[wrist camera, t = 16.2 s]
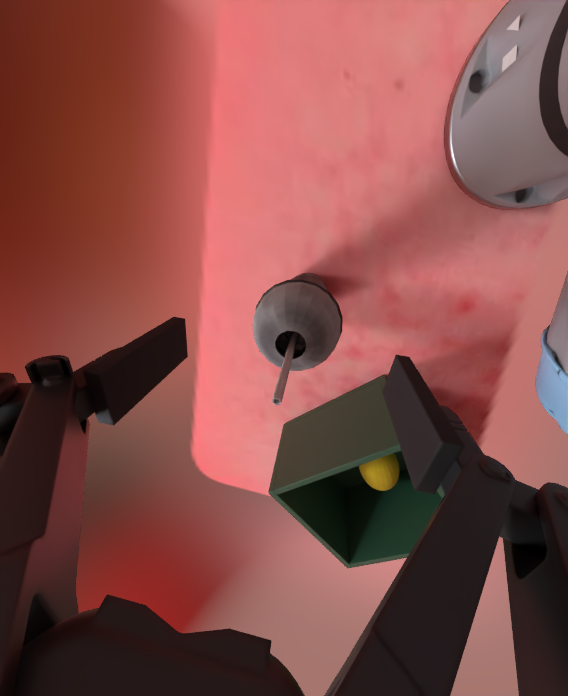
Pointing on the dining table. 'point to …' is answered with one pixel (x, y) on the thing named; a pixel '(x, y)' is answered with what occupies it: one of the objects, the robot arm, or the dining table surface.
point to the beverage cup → (296, 326)
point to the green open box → (350, 480)
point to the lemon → (381, 472)
